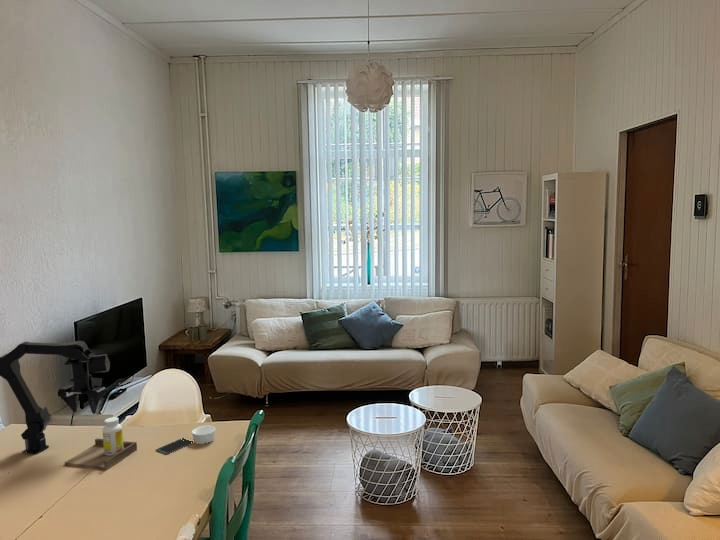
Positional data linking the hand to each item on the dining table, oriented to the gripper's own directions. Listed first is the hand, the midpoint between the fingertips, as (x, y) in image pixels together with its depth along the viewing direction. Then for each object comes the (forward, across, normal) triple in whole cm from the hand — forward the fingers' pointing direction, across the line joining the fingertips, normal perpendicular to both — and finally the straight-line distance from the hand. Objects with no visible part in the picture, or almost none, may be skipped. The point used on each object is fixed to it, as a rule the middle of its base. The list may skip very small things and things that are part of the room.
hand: (84, 412), depth 198 cm
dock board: (+13, -14, +7) cm, 20 cm away
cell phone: (+15, -35, -7) cm, 39 cm away
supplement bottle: (+13, -17, +5) cm, 22 cm away
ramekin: (+15, -43, -15) cm, 47 cm away
